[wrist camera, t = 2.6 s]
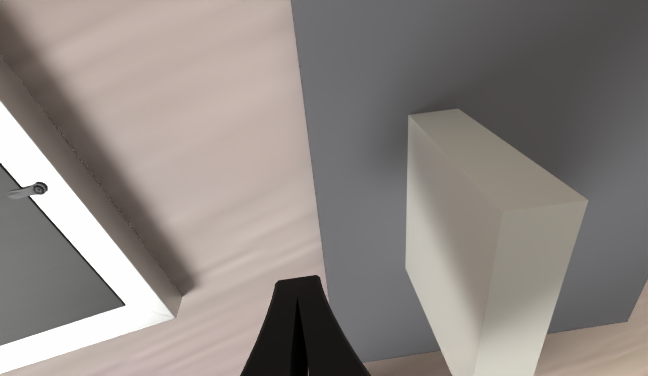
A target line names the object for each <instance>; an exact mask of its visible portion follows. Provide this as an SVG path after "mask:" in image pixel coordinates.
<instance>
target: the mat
mask: <svg viewBox="0 0 648 376" xmlns="http://www.w3.org/2000/svg"><path fill="white" fill-rule="evenodd" d="M291 5H292V13H293V21H294V29H295V36H296V44H297V52H298V60H299V68H300V76H301V84H302V92H303V99H304V107H305V115H306V123H307V131H308V139H309V147H310V155H311V163H312V170H313V178H314V186H315V194H316V202H317V210H318V218H319V226H320V233H321V241H322V249H323V257H324V265H325V273H326V281H327V289H328V296H329V304H330V308H331V310H332V312H333V314H334V316H335V318H336V320H337V322H338V324H339V326H340V327H341V329H342V331H343V333H344V335H345V336H346V338H347V340H348V341H349V343H350V345H351V346H352V348H353V350H354V351H355V353H356V354H357V356H358V357H359V359H360V360H361V362H362V363H364V362H370V361H377V360H383V359H389V358H396V357H402V356H409V355H415V354H422V353H428V352H434V351H441V349H440V346H439V344H438V342H437V340H436V337H435V335H434V333H433V330H432V328H431V326H430V324H429V321H428V319H427V317H426V314H425V312H424V310H423V307H422V305H421V303H420V301H419V298H418V296H417V294H416V291H415V289H414V287H413V285H412V282H411V280H410V278H409V275H408V273H407V271H406V268H405V264H406V214H407V163H408V115H412V114H420V113H427V112H435V111H443V110H451V109H460V110H461V111H462V112H464V113H465V114H467V115H468V116H469V117H471V118H472V119H474V120H475V121H477V122H478V123H479V124H481V125H482V126H484V127H485V128H487V129H488V130H489V131H491V132H492V133H494V134H495V135H497V136H498V137H499V138H501V139H502V140H504V141H505V142H506V143H508V144H509V145H511V146H512V147H514V148H515V149H516V150H518V151H519V152H521V153H522V154H524V155H525V156H526V157H528V158H529V159H531V160H532V161H534V162H535V163H536V164H538V165H539V166H541V167H542V168H543V169H545V170H546V171H548V172H549V173H551V174H552V175H553V176H555V177H556V178H558V179H559V180H561V181H562V182H563V183H565V184H566V185H568V186H569V187H571V188H572V189H573V190H575V191H576V192H578V193H579V194H581V195H582V196H583V197H585V198H586V199H588V200H589V201H588V204H587V207H586V210H585V213H584V216H583V220H582V223H581V226H580V229H579V232H578V235H577V239H576V242H575V245H574V248H573V251H572V255H571V258H570V261H569V264H568V267H567V270H566V274H565V277H564V280H563V283H562V286H561V289H560V293H559V296H558V299H557V302H556V305H555V308H554V312H553V315H552V318H551V321H550V324H549V328H548V331H547V334H550V333H556V332H563V331H569V330H576V329H582V328H588V327H595V326H601V325H608V324H614V323H620V322H627V321H628V319H629V317H630V315H631V313H632V311H633V308H634V306H635V304H636V302H637V300H638V298H639V296H640V294H641V291H642V289H643V287H644V285H645V283H646V281H647V279H648V0H291Z"/></svg>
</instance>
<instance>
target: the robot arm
mask: <svg viewBox="0 0 648 376" xmlns="http://www.w3.org/2000/svg"><path fill="white" fill-rule="evenodd" d="M308 372H309V376H371V375H370V373H369V372H368V371H367V369H366V368H365V366H364V365H363V363H362V362H361V360H360V359H359V357H358V356H357V354H356V353H355V351H354V350H353V348H352V346H351V345H350V343H349V341H348V340H347V338H346V336H345V335H344V333H343V331H342V329H341V327H340V326H339V324H338V322H337V320H336V318H335V316H334V314H333V312H332V310H331V308H330V306H329V303H328V301H327V299H326V296H325V294H324V291H323V288H322V284H321V280H320V277H319V276H317V275H313V276H306V277H299V278H293V279H286V280H279V281H278V282H277V283H276V284H275V288H274V292H273V296H272V300H271V303H270V306H269V309H268V312H267V315H266V318H265V320H264V323H263V325H262V328H261V330H260V333H259V336H258V338H257V341H256V343H255V345H254V347H253V349H252V352H251V354H250V356H249V358H248V360H247V363H246V365H245V367H244V369H243V371H242V373H241V375H240V376H308Z"/></svg>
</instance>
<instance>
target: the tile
mask: <svg viewBox="0 0 648 376" xmlns="http://www.w3.org/2000/svg"><path fill="white" fill-rule="evenodd" d="M588 201H589V200H588V199H586V198H585V197H583V196H582V195H581V194H579V193H578V192H576V191H575V190H573V189H572V188H571V187H569V186H568V185H566V184H565V183H563V182H562V181H561V180H559V179H558V178H556V177H555V176H553V175H552V174H551V173H549V172H548V171H546V170H545V169H543V168H542V167H541V166H539V165H538V164H536V163H535V162H534V161H532V160H531V159H529V158H528V157H526V156H525V155H524V154H522V153H521V152H519V151H518V150H516V149H515V148H514V147H512V146H511V145H509V144H508V143H506V142H505V141H504V140H502V139H501V138H499V137H498V136H497V135H495V134H494V133H492V132H491V131H489V130H488V129H487V128H485V127H484V126H482V125H481V124H479V123H478V122H477V121H475V120H474V119H472V118H471V117H469V116H468V115H467V114H465V113H464V112H462V111H461V110H460V109H451V110H443V111H435V112H427V113H420V114H412V115H408V163H407V214H406V264H405V268H406V271H407V273H408V275H409V278H410V280H411V282H412V285H413V287H414V289H415V291H416V294H417V296H418V298H419V301H420V303H421V305H422V307H423V310H424V312H425V314H426V317H427V319H428V321H429V324H430V326H431V328H432V330H433V333H434V335H435V337H436V340H437V342H438V344H439V346H440V349H441V351H442V353H443V356H444V358H445V360H446V363H447V365H448V367H449V369H450V372H451V374H452V376H533V375H534V372H535V369H536V366H537V362H538V359H539V356H540V353H541V350H542V347H543V343H544V340H545V337H546V334H547V331H548V328H549V324H550V321H551V318H552V315H553V312H554V308H555V305H556V302H557V299H558V296H559V293H560V289H561V286H562V283H563V280H564V277H565V274H566V270H567V267H568V264H569V261H570V258H571V255H572V251H573V248H574V245H575V242H576V239H577V235H578V232H579V229H580V226H581V223H582V220H583V216H584V213H585V210H586V207H587V204H588Z"/></svg>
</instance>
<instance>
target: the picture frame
mask: <svg viewBox="0 0 648 376" xmlns="http://www.w3.org/2000/svg"><path fill="white" fill-rule="evenodd" d="M182 297H183V296H182V295H181V294H180V292H179V291H178V290H177V288H176V287H175V286H174V284H173V283H172V282H171V280H170V279H169V278H168V276H167V275H166V274H165V272H164V271H163V270H162V269H161V267H160V266H159V265H158V263H157V262H156V261H155V259H154V258H153V257H152V255H151V254H150V253H149V251H148V250H147V249H146V247H145V246H144V245H143V243H142V242H141V241H140V239H139V238H138V237H137V235H136V234H135V233H134V231H133V230H132V229H131V227H130V226H129V225H128V223H127V222H126V221H125V219H124V218H123V217H122V215H121V214H120V213H119V211H118V210H117V209H116V207H115V206H114V205H113V203H112V202H111V201H110V199H109V198H108V197H107V195H106V194H105V193H104V191H103V190H102V189H101V187H100V186H99V185H98V184H97V182H96V181H95V180H94V178H93V177H92V176H91V174H90V173H89V172H88V170H87V169H86V168H85V166H84V165H83V164H82V162H81V161H80V160H79V158H78V157H77V156H76V154H75V153H74V152H73V150H72V149H71V148H70V146H69V145H68V144H67V142H66V141H65V140H64V138H63V137H62V136H61V134H60V133H59V132H58V130H57V129H56V128H55V126H54V125H53V124H52V122H51V121H50V120H49V118H48V117H47V116H46V114H45V113H44V112H43V110H42V109H41V108H40V106H39V105H38V104H37V102H36V101H35V100H34V98H33V97H32V96H31V94H30V93H29V92H28V90H27V89H26V88H25V86H24V85H23V84H22V83H21V81H20V80H19V79H18V77H17V76H16V75H15V73H14V72H13V71H12V69H11V68H10V67H9V65H8V64H7V63H6V61H5V60H4V59H3V57H2V56H1V55H0V373H4V372H7V371H10V370H13V369H16V368H19V367H22V366H26V365H29V364H32V363H35V362H38V361H41V360H44V359H48V358H51V357H54V356H57V355H60V354H63V353H67V352H70V351H73V350H76V349H79V348H82V347H85V346H89V345H92V344H95V343H98V342H101V341H104V340H108V339H111V338H114V337H117V336H120V335H123V334H126V333H130V332H133V331H136V330H139V329H142V328H145V327H148V326H152V325H155V324H158V323H161V322H164V321H167V320H171V319H174V318H176V316H177V313H178V309H179V306H180V303H181V300H182Z"/></svg>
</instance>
